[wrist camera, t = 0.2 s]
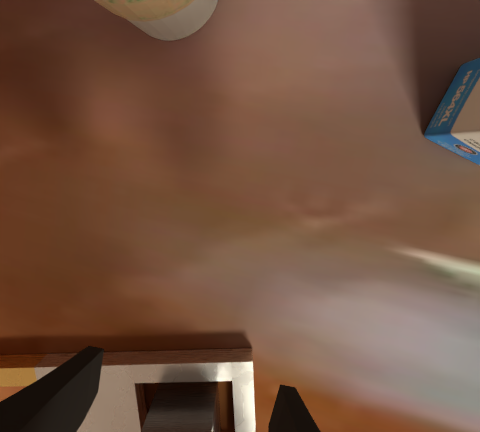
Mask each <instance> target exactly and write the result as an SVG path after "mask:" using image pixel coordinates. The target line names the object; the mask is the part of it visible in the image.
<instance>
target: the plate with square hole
mask: <svg viewBox="0 0 480 432" xmlns="http://www.w3.org/2000/svg"><path fill="white" fill-rule="evenodd" d="M76 354H77V353H58V354H22V355H0V387H5V386H29V385H30V384H32V383H34V382H35V381H37V380H39V379H40V378H42V377H43V376H45V375H46V374H48V373H49V372H51V371H52V370H54V369H55V368H57V367H58V366H60V365H61V364H63V363H64V362H66V361H67V360H69V359H70V358H72V357H73V356H75V355H76ZM207 381H232V385H233V403H234V420H235V432H256V430H255V405H254V380H253V355H252V348H240V349H203V350H167V351H131V352H104V353H103V360H102V367H101V374H100V382H99V389H98V393H97V395H96V397H95V399H94V401H93V403H92V406H91V408H90V410H89V411H88V413H87V415H86V417H85V419H84V421H83V422H82V424H81V426H80V427H79V429H78V430H77V432H141V431H142V428H143V425H144V422H145V420H146V417H147V409H146V401H145V394H144V386H143V383H166V382H207Z"/></svg>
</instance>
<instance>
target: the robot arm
mask: <svg viewBox="0 0 480 432" xmlns="http://www.w3.org/2000/svg"><path fill="white" fill-rule="evenodd" d="M103 353H104V349H102V348H97V347H92V346H88V347H86V348H85V349H83V350H82V351H80V352H79V353H77V354H76V355H75V356H73V357H72V358H70V359H69V360H67V361H66V362H64V363H63V364H61V365H60V366H58V367H57V368H55V369H54V370H52V371H51V372H49V373H48V374H46V375H45V376H43V377H42V378H40V379H39V380H37V381H35V382H34V383H32V384H30V385H29V386H27V387H25V388H24V389H22V390H20V391H19V392H17V393H15V394H14V395H12V396H10V397H8V398H7V399H5V400H3V401H1V402H0V432H77V430H78V429H79V427H80V426H81V424H82V422H83V421H84V419H85V417H86V415H87V413H88V411H89V410H90V408H91V406H92V403H93V401H94V399H95V397H96V395H97V393H98V389H99V382H100V374H101V367H102V360H103ZM269 432H320V430H319V428H318V427H317V425H316V423H315V422H314V420H313V418H312V417H311V415H310V413H309V411H308V410H307V408H306V406H305V404H304V402H303V401H302V399H301V397H300V395H299V393H298V392H297V390H296V388H295V387H290V386H285V385H280V387H279V391H278V394H277V398H276V401H275V405H274V408H273V412H272V415H271V419H270V422H269Z"/></svg>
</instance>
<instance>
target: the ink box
mask: <svg viewBox="0 0 480 432" xmlns="http://www.w3.org/2000/svg"><path fill="white" fill-rule="evenodd" d="M424 137H425V138H427V139H429V140H430V141H432V142H435V143H436V144H438V145H440V146H442V147H444V148H446V149H448V150H450V151H452V152H454V153H456V154H458V155H460V156H462V157H464V158H466V159H468V160H470V161H472V162H474V163H476V164H478V165H480V58H478V59H475V60H472V61H470V62H467V63H465V64H462V65H461V67H460V68H459V70H458V72H457V74H456V76H455V78H454V80H453V81H452V83H451V85H450V87H449V88H448V90H447V92H446V94H445V96H444V97H443V99H442V101H441V103H440V105H439V106H438V108H437V110H436V112H435V114H434V116H433V117H432V119H431V121H430V123H429V125H428V127H427V129H426V131H425V134H424Z"/></svg>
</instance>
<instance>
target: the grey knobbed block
mask: <svg viewBox="0 0 480 432" xmlns="http://www.w3.org/2000/svg"><path fill="white" fill-rule="evenodd" d="M141 432H221V422H220V408H219V393H218V381H207V382H166V383H159V384H158V387H157V390H156V392H155V395H154V398H153V401H152V403H151V406H150V409H149V412H148V414H147V417H146V420H145V422H144V425H143V428H142V431H141Z"/></svg>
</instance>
